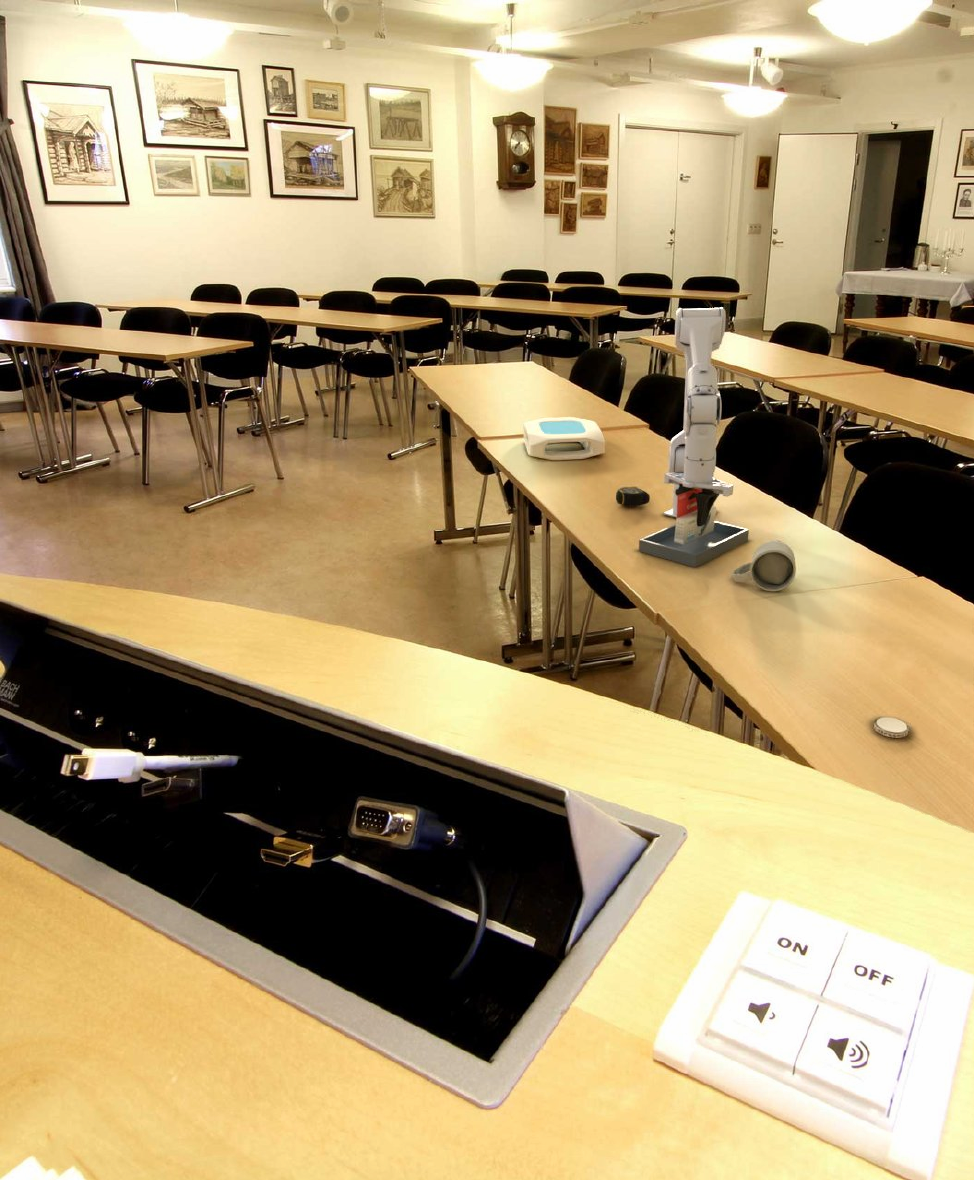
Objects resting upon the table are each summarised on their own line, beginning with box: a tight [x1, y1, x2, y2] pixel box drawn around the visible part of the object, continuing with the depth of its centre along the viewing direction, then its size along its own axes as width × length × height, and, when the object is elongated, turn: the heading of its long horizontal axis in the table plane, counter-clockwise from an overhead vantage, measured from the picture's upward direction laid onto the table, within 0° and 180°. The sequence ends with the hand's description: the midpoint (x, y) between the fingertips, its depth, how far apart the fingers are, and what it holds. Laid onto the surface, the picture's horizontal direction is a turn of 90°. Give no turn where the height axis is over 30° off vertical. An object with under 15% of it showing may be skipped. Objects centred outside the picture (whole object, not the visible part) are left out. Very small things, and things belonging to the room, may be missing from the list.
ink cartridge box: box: [674, 489, 717, 545], centre depth 168 cm, size 2×11×10 cm, turn 134°
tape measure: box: [615, 486, 651, 508], centre depth 195 cm, size 7×7×4 cm
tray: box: [638, 520, 750, 568], centre depth 170 cm, size 19×13×2 cm
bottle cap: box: [873, 716, 910, 739], centre depth 107 cm, size 4×4×1 cm
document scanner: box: [522, 416, 606, 461], centre depth 246 cm, size 21×28×6 cm
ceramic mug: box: [731, 540, 797, 592], centre depth 150 cm, size 11×8×8 cm
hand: (695, 523), depth 168 cm, fingers closed on ink cartridge box, 2 cm apart
